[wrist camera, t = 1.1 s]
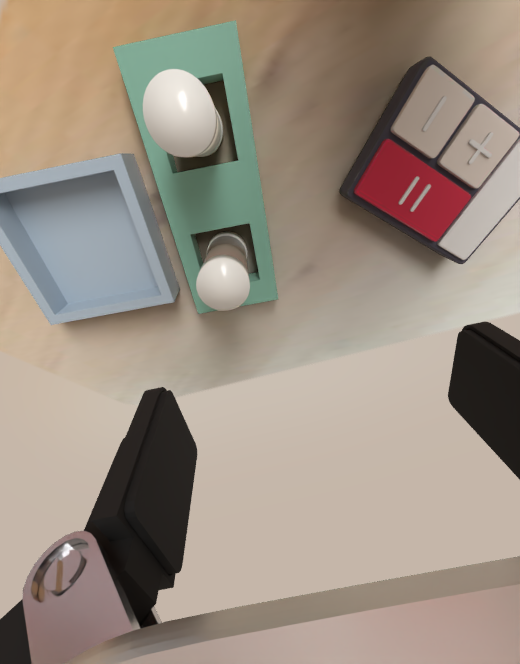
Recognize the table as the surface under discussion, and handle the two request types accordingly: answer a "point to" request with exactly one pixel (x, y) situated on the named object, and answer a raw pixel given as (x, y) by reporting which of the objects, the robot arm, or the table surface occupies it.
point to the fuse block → (212, 181)
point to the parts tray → (86, 239)
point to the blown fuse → (224, 273)
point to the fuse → (181, 115)
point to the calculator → (439, 163)
